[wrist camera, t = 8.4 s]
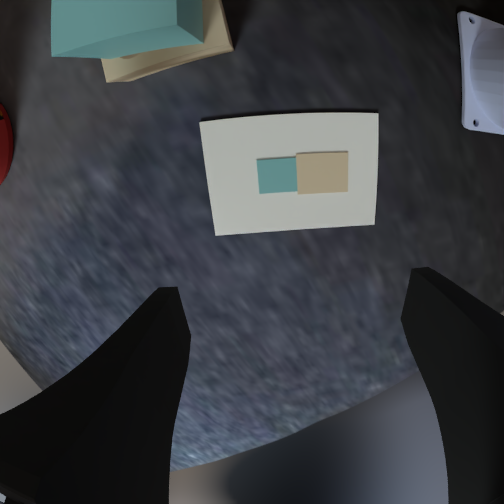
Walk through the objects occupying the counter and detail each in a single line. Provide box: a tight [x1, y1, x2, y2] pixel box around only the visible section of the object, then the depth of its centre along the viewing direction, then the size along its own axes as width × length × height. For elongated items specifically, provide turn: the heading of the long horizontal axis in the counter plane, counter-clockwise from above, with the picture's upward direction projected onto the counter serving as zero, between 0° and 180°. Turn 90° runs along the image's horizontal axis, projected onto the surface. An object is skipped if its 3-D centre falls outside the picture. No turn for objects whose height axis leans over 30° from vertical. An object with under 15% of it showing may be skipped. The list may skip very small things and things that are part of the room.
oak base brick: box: [101, 0, 234, 82], centre depth 12 cm, size 6×6×4 cm
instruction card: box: [199, 112, 378, 236], centre depth 18 cm, size 10×7×1 cm
